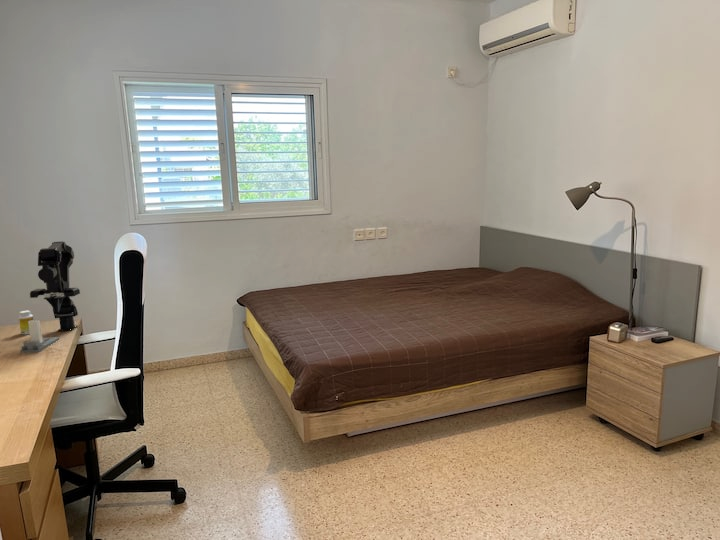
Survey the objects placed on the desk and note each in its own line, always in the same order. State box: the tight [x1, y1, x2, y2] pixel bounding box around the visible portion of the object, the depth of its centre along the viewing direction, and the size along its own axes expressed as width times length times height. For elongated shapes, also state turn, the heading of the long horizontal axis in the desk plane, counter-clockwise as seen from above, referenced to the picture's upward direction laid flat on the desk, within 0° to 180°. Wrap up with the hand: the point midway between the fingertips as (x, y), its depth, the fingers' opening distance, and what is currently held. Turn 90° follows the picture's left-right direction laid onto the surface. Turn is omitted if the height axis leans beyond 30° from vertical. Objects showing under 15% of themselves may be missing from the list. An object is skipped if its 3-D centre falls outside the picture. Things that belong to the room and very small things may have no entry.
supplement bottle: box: [17, 309, 34, 335], centre depth 231 cm, size 6×6×10 cm
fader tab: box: [28, 319, 44, 346], centre depth 209 cm, size 4×4×10 cm
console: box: [19, 336, 60, 354], centre depth 212 cm, size 16×7×4 cm, turn 2°
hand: (57, 311), depth 221 cm, fingers closed
